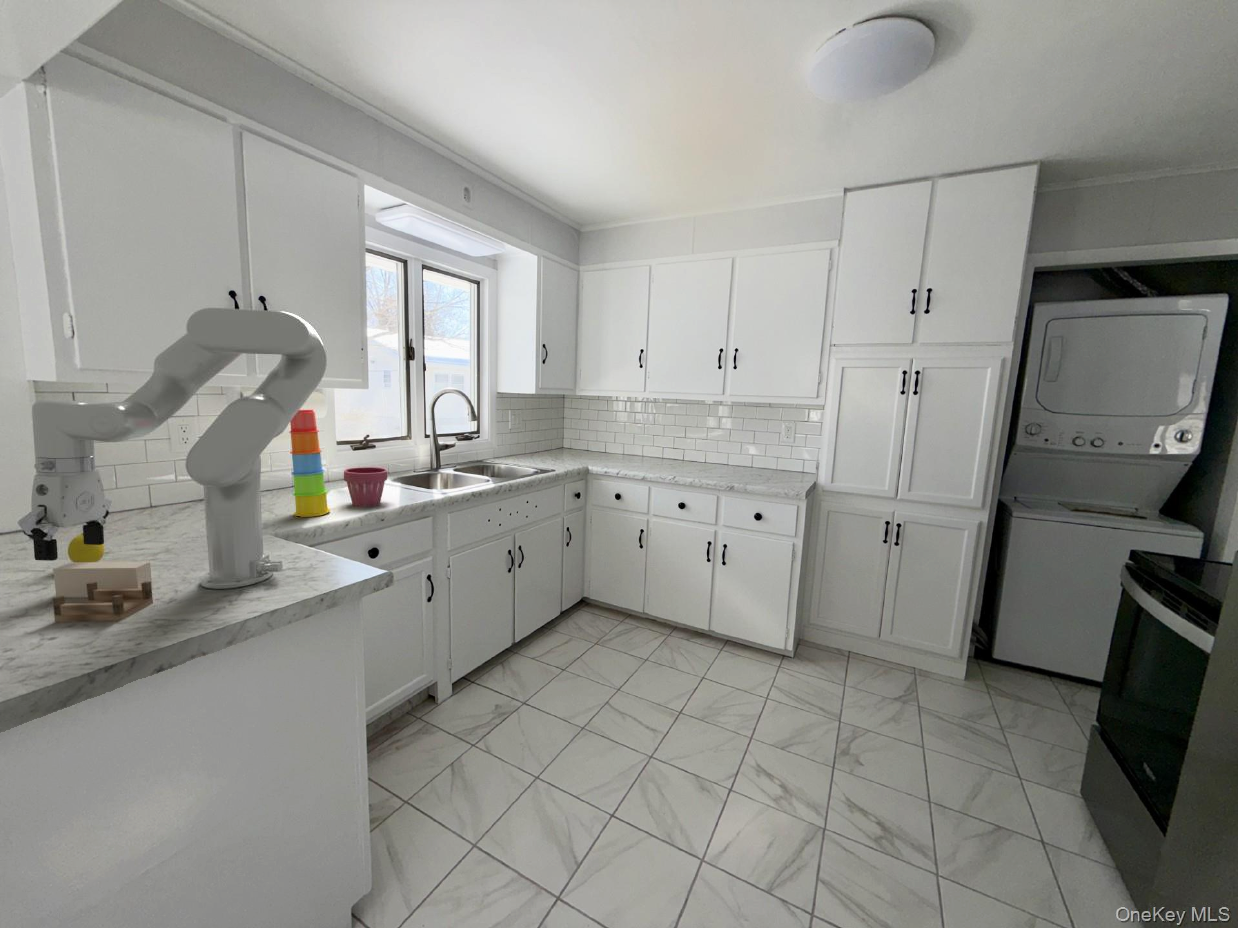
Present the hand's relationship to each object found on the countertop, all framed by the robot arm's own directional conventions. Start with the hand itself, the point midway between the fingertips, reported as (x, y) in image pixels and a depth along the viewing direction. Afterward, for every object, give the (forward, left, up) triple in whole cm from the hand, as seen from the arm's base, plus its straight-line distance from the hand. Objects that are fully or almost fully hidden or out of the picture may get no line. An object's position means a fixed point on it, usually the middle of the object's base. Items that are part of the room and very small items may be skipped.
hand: (71, 551), depth 95 cm
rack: (-12, +9, -9) cm, 17 cm away
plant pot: (-27, -80, -9) cm, 85 cm away
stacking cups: (-15, -65, -9) cm, 68 cm away
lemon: (+10, -15, -9) cm, 20 cm away
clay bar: (-5, 0, -9) cm, 10 cm away
